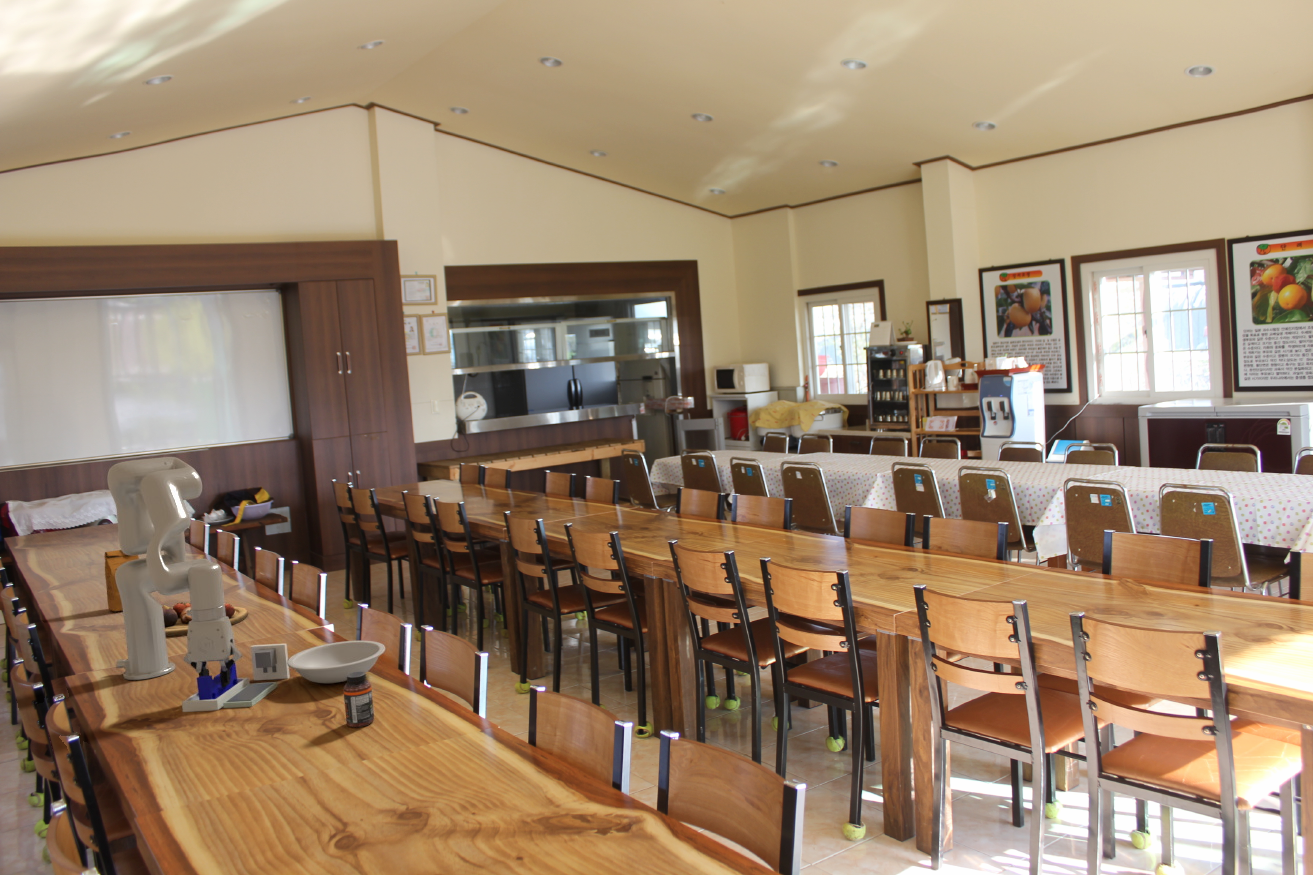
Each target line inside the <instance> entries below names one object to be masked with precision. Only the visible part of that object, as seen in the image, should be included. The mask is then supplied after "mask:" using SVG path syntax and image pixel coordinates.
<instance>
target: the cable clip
mask: <svg viewBox="0 0 1313 875" xmlns="http://www.w3.org/2000/svg"><path fill="white" fill-rule="evenodd" d="M221 671H222V668H221V667H220V672H221ZM230 675H231V681H230V684H229V685H227V686H226V687H223V688H222V687H221V678H220V673H219V674H217V675H215V676H214V677H213V675H209V676H199V675H198V677H196V684H197V689H198V690H197V692H198V693H199V700H212V699H216V698H218V697H219V696H221V695H222V694H224V693H225V692H227V691H228V690H229V689H231V688H232V687H234V686H235V685H236V684H238V681H237V678H238V675H237V665H236V662H235V663H234V664H233V666H232V667H231V668H230Z"/></svg>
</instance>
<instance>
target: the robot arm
mask: <svg viewBox="0 0 1313 875" xmlns="http://www.w3.org/2000/svg"><path fill="white" fill-rule="evenodd" d="M106 479H107V485H108V489H109V492H110V494H111V496H112V498H113V501H114V504H115V508H116V509H115V510H116V519H117V532H118V542H119V547H120V550H122V552H123V553H124V554H126V555H138V556H140V555H145V556H146V557H143V558H139V559H136V560H132V561H128V562H126V563H124V564H122V565H120V566H119V567H118V569H117V570H116V573H115V580H116V584H117V587H118V590H119V594H120V597H121V602H122V608H123V611H122V613H123V614H122V615H123V622H124V630H125V639H126V640H125V641H126V649H127V650H126V651H127V659H126V658H123V659H119V658H118V659H117V660H116V663H115V664H116V665H115V668H116V669H124V670H125V671H124V672H123V674H122V675H123V679H125V680H130V681H132V680H133V681H136V680H137V681H138V680H146V679H153V678H156V677H160V676H163V675H167V674H169V673H171V672H172V671H174V670H175V669H176V664H175V663H174V662H172V661H169V655H168V646H167V639H166V638H167V636H165V626H164V616H163V608H162V607H163V605H162V604H161V602H160V601H159V600H158V599H156V598H155V597H154V596H153V595H152V593H155V592H157V593H159V594H160V595H162V596H173V595H179V594H183V593H188V592H189V600H190V601H189V603H190V604H191V610H188V611H187V615H188V616H191V619H192V621H190V622H189V625H188V634H186V635H187V636H186V637H187V638H186V639H187V641H186V642H187V643H186V646H187V647H186V649H187V653H186V654H185V656H184V658H183V661H184V662H185V663H187V664H189V665H190V666H191V667H192V668H193V669H195V671H196V673H197V674H198V677H199V676H210V670H209V668H208V667H207V665H208V662H219V664H220V669H221V668H222V671H221V670H220V671H219V674H220V678H221V687H222V688H223V687H226V686H227V685H229V684H230V681H231V675H230V668H231V667H232V666H233V664H234V663H235V664H236V663H237V661H238V660H240V659H241V658H242V657H243V653H242V652H241V651H240V650H239V649H238V647H236V642H235V641H236V640H235V636H234V631H233V627H232V626H233V625H231V623H230V620H229V617H227V616H226V612H225V603H226V602H225V594H224V583H223V582H224V581H223V573H222V572H223V571H222V567H221V565H220V564H219V563H216V562H212V561H211V560H210V559H207V558H197V559H192V560H187V554H186V553H187V552H186V538H185V531H186V530H188V528H189V527H190V526H191V523H192V521H191V520H192V519H191V517H190V515H189V512H188V510H187V507H186V505H185V501H188V500H193V499H197V498H199V497H200V496H201V494H202V493H203V483H202V479H201V476H200V475H199V473H198V472H197V471H196V469H195V468H194V467H192V466H191V465H189V463H186V462H185V461H183V460H182V459H180V458H178V457H176V456H163V457H154V458H152V457H151V458H142V459H133V460H132V459H131V460H126V461H120V462H118V463H116V464H113V465H112V466H110V467H109V470H108V472H107V478H106ZM162 552H163V554H162ZM230 656H232V657H231V659H230Z"/></svg>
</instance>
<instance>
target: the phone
mask: <svg viewBox="0 0 1313 875" xmlns="http://www.w3.org/2000/svg"><path fill="white" fill-rule="evenodd" d="M276 688H278V682H277V681H273V682H260V683H259V682H256V683H250V684H249V685H247V686H246V687H245V688H243V689H242V690H240V691H239V692H238V693H236V694H235V695H234V696H232V697H231V698H229V699H228V700H227V701H225V702H224V703H223V707H222V708H223V709H229V708H233V709H234V708H249V707H251V708H252V707H253V706H255V705H256V704H257V703H260V701H261V700H262V699H263V698H266V696H267V695H269V694H271V692H273V691H274V690H276Z"/></svg>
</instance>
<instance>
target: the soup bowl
mask: <svg viewBox="0 0 1313 875" xmlns="http://www.w3.org/2000/svg"><path fill="white" fill-rule="evenodd" d="M385 650H386V647H385V645H384V644H383V643H381V642H378V641H374V640H346V641H338V642H332V643H326V644H321V645H317V646H313V647H310V648H307V649H303V650H302V651H299V652H297V653H295V654H292V655H291V656H290V657H288V661H287V664H288V666H289V668H291V669H293V670H295V671H296V672H297V673H298V675H300V676H301V677H302V678H304V679H306V680H308V681H309V682H313V683H316V684H335V683H341V682H342V683H343V682H347V675H348V674H349V673H352V672H357V671H363V672H365V674H366V673H367V672H369V671H370V670H371V669H372V668H373V667H374V665H375V664H376V663H377V661H378V659H379V657H380V656H381V655H383V654H384V652H385Z"/></svg>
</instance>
